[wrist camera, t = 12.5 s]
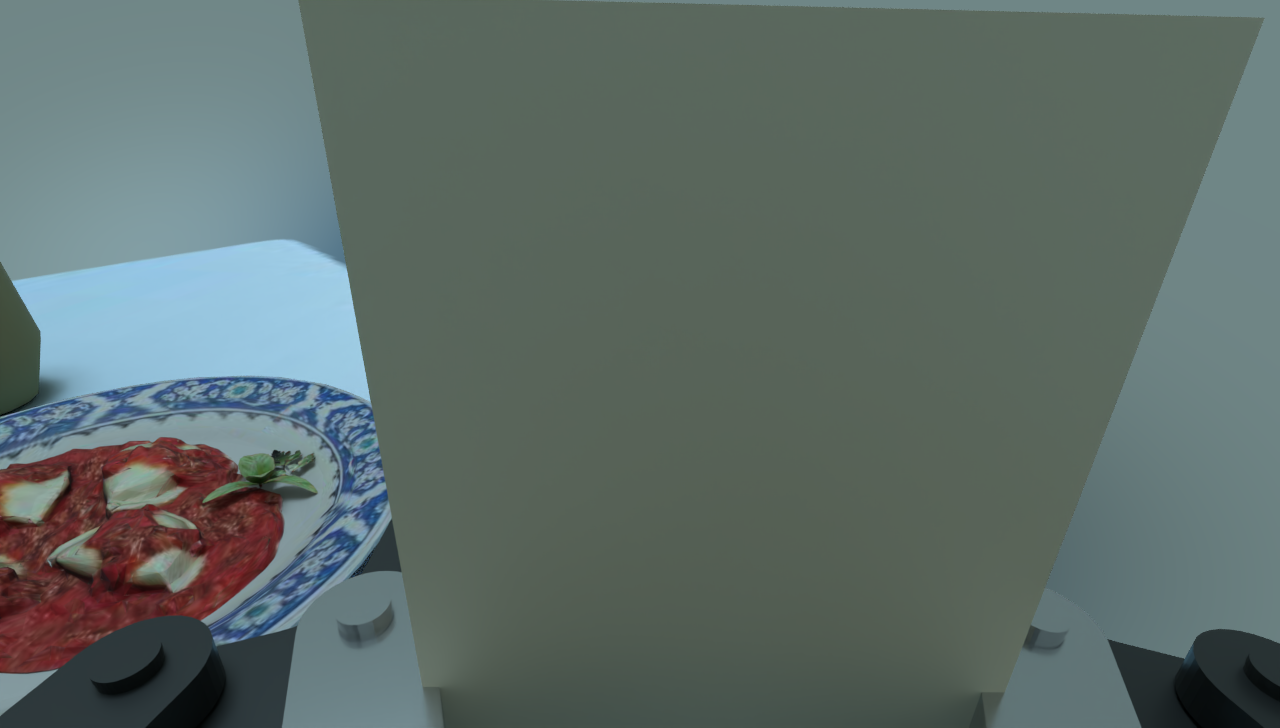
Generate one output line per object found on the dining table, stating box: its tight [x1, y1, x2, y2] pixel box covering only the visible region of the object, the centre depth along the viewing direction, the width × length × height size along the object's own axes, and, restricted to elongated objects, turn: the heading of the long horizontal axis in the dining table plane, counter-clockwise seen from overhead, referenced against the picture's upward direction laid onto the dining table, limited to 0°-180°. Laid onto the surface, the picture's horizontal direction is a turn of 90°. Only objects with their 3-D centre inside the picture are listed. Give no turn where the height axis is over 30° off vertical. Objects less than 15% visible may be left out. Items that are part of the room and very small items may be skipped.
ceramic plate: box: [0, 376, 392, 716], centre depth 27 cm, size 26×26×3 cm
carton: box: [299, 0, 1264, 728], centre depth 9 cm, size 5×5×14 cm
